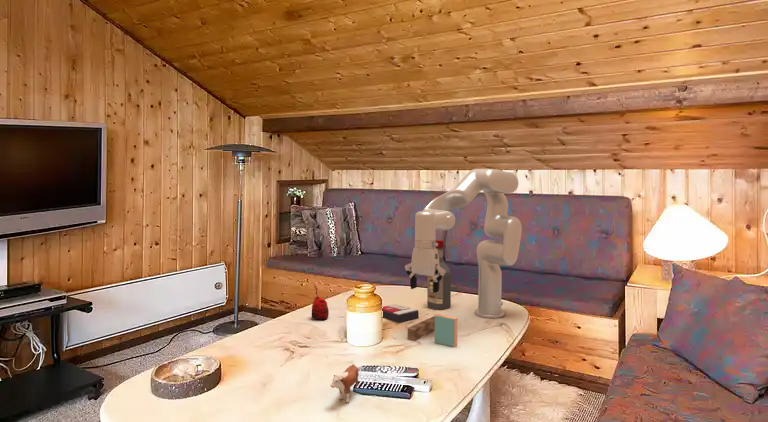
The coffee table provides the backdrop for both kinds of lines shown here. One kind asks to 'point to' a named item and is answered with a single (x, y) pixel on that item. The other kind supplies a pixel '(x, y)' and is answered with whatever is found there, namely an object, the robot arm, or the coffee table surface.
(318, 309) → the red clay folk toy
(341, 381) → the bull figurine
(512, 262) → the robot arm
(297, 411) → the coffee table surface
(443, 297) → the liquor
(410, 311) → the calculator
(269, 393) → the coffee table surface
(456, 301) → the coffee table surface
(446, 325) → the tile
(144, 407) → the coffee table surface
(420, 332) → the stick
